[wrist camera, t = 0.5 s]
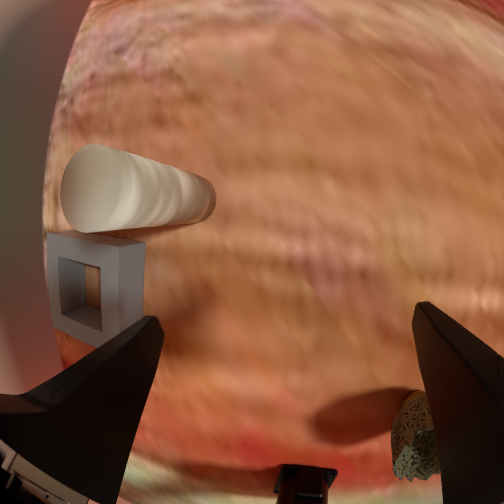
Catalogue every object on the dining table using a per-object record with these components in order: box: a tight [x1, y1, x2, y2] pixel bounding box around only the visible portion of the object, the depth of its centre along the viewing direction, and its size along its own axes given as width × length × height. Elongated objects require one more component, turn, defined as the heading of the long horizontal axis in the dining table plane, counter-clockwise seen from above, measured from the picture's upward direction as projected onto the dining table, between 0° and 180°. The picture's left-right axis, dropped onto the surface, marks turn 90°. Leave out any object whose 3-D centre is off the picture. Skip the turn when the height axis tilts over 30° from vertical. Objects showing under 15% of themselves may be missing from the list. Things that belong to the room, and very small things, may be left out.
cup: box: [391, 390, 441, 482], centre depth 17 cm, size 8×7×8 cm
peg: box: [60, 144, 216, 233], centre depth 17 cm, size 4×4×12 cm
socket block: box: [47, 230, 146, 348], centre depth 24 cm, size 10×10×4 cm
